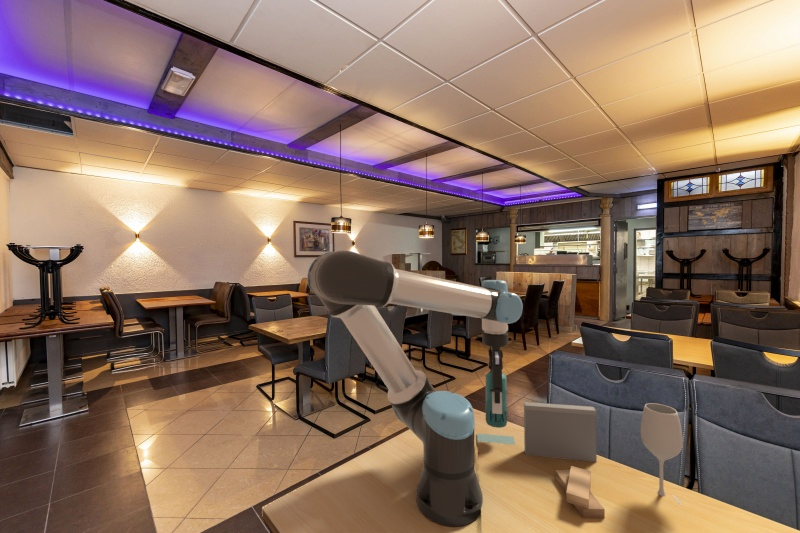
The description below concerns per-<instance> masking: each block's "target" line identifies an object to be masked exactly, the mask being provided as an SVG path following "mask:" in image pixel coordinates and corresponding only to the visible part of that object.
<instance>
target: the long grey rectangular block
mask: <svg viewBox="0 0 800 533" xmlns="http://www.w3.org/2000/svg"><path fill="white" fill-rule="evenodd" d="M523 415H524V416H523V420H524V421H523V426H524V427H523V428H524V429H523V430H524V431H523V432H524V433H523V434H524V439H523V440H524V442H523V443H524V453H525V455H526V456H532V457H533V456H534V457H542V458H554V459H564V460H573V461H583V462H592V463H597V461H598V460H597V457H598V456H597V410H596V408H595V407H594V406H587V405H586V406H585V405H573V404H571V405H570V404H559V403H558V404H557V403H556V404H555V403H544V402H530V401H524V402H523Z"/></svg>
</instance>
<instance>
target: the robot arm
mask: <svg viewBox="0 0 800 533" xmlns="http://www.w3.org/2000/svg"><path fill="white" fill-rule="evenodd" d="M306 276H307V277H306V280H307V285H308V288H309V290H310V291H311V292H312V294H313V295H315V296H316V297H318V298H319V300H320V301H321V303H322V304H323V306H324V307H325V308H326V310H327V311H328V313H329V314H330V315H331V317H332V318H338V319H340V320H341V321H342V322H343V324H344V325H345V327H346V329H347V330H348V331H349V333H350V334H351V336H352V337H353V339H354V340H355V341H356V343H357V345H358V346H359V347H360V349H361V351H362V352H363V354H364V355H365V356H366V358H367V360H368V361H369V362H370V364H371V366H372V367H373V368H374V370H375V371H376V373H377V374H378V376H379V377H380V379H381V380H382V382H383V383H384V385H385V386H386V388H387V389H388V391H387V395H386V396H387V400H388V402H389V403H390V404H391V407H392V410H393V412H394V414H395V416H396V417H397V419H398V420H399V421H400V422H401V423H403V424H404V425H405V426H406V427H407V428H408V429H409V430H410V431H411V432H412V433H413V434H414V435H416V437H417V438H418V439H419V440H420V441H421V442H422V444H423V467H422V470H421V473H420V476H419V479H418V483H417V487H416V504H417V507H418V509H419V511H420V512H421V513H422V514H423V516H424V517H426V518H427V519H428V520H430V521H431V522H434V523H436V524H439V525H442V526H445V527H446V526H447V527H461V526H465V525H468V524H471V523H473V522H474V521H476V520H477V519H479V517H480V515H481V514H482V506H483V505H484V504H483V503H484V502H483V501H484V497H483V496H484V495H483V491H482V488H481V486H480V482H479V479H478V475H477V473H476V470H475V469H476V468H475V427H476V426H475V425H476V420H475V416H474V414H475V413H474V408H473V406H472V404H471V402H470V401H469V400H468V399H467V398H465V397H464V396H463V395H461V394H458V392H457V393H456V392H453V393H452V392H451V391H448V390H436V389H435V387H434V386H433V384H432V383H431V382H430V380H429V379H428V376H426V374H425V373H424V371H423V370H419V369H415V367H414V366H413V363H412V362H411V360H410V359H409V357H408V356H407V355H406V353H405V351H404V349H403V348H402V347H401V345H400V343H399V342H398V340H397V338H396V337H395V334H393V332H392V331H391V330H390V328H389V326H388V325H387V323H386V320H384V318H383V317H382V315H381V314H380V312H379V310H378V308H377V307H379V308H383V307H386V306H387V305H388V304H392V305H396V306H397V305H399V306H404V307H411V308H417V309H422V310H428V311H434V312H435V311H436V312H441V313H447V314H450V315H452V316H460V317H461V316H465V317H470V318H476V319H477V318H479V319H481V330H482V333H481V334H482V338H481V339H482V340H481V342H482V344H483V345H484V346H487V347H489V349H487V351H488V352H487V353H488V354H487V355H488V361H490V366H491V367H492V370H491V369H489V371H492V385H493V388H492V389H490V392H492V413H495V414H502V391H503V389H502V373H503V369H502V365H503V358H504V354H503V349H501V347H507V346H508V345H509V333H508V331H509V325H508V324H513V323H516V322H517V321H518V320H520V318H521V317H522V314H523V308H524V307H523V306H524V305H523V301H522V299H521V297H520V296H519V295H518V294H516V293H514V292H509V291H508V289H509V288H508V283H507V282H506V281H505V280H502V279H486V280H485V279H484V280H482V281H481V286H476V285H474V284H473V285H472V284H467V283H463V282H460V281H454V280H449V279H444V278H440V277H434V276H429V275H425V274H422V273H416V272H412V271H407V270H404V269H403V270H402V269H398V268H395V266H394V265H393V264H392V262H389V261H388V262H387V261H384V260H380V259H376V258H374V257H370V256H366V255H364V254H361V253H358V252H354V251H352V250H351V251H350V250H337V251H328V252H324V253H323V254H321V255H318V257H316V258H315V259H314V260H313V261H312V263H310V266H309V268H308V270H307V275H306Z"/></svg>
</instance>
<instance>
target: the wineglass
mask: <svg viewBox="0 0 800 533" xmlns="http://www.w3.org/2000/svg"><path fill="white" fill-rule="evenodd" d="M640 438H641V441H642V443H643V445H644V446H645V448H646V449H647V450H648V451H649V452H650V453H651V454H652V455H653V456H654V457H655V458H656V459H657V460H658V466H659V470H658V472H659V473H658V474H659V477H658V478H659V483H658V484H659V488H658V490H657V491H656V493H657V494H658V495H659V496H660V497H661V496H662V497H667V494H666V493H665V490H664V464H665V461H667V460H671V459H672V458H675V457H676V456H678V455H679V454H680V453H681V451H682V449H683V444H684V443H683V442H684V440H683V439H684V438H683V430H682V425H681V421H680V417H679V413H678V411H677V410H676V409H675V408H674V407H671V406H668V405H665V404H662V403H653V402H652V403H645V404H644V406H643V410H642V415H641V422H640ZM671 496H672V497H673V498H674V499H675V501H676V502H677V503H678V504H679V505H680V506H681V507H683V504H682V502H681V501H680V499H679V498H677V496H675V495H674V494H671Z"/></svg>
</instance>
